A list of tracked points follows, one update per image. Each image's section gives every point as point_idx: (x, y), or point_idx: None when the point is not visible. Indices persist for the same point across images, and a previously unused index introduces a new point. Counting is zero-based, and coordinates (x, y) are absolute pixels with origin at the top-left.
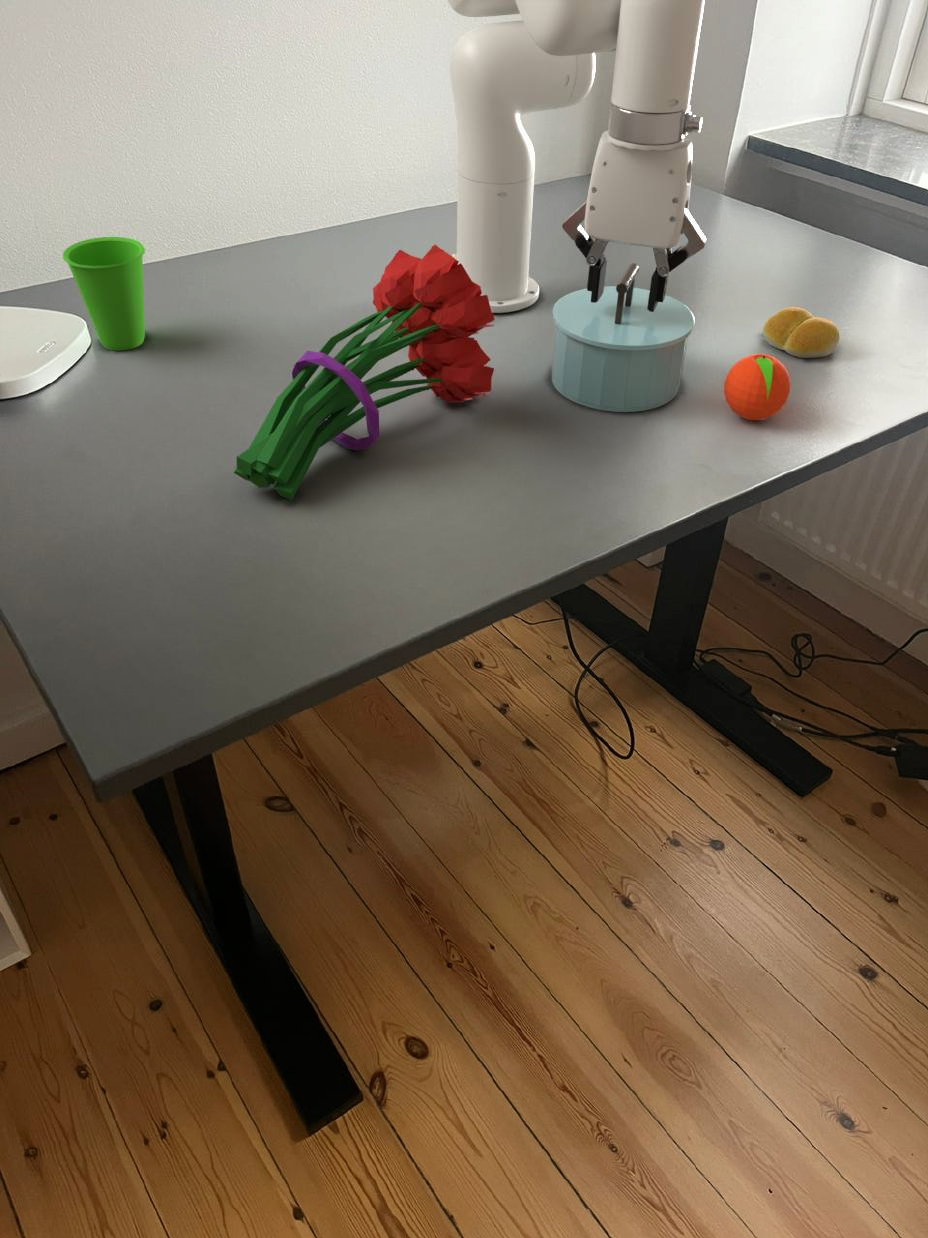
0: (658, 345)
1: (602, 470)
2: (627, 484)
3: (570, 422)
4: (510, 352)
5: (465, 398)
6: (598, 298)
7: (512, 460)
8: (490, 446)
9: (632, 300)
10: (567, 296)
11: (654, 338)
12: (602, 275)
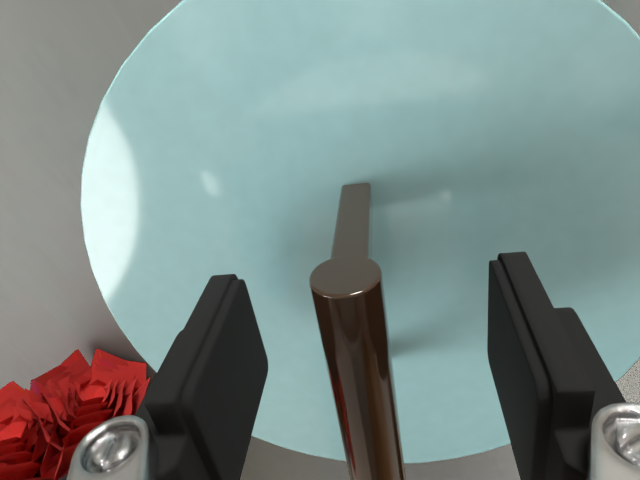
0: None
1: (459, 460)
2: (510, 477)
3: None
4: (52, 143)
5: (139, 384)
6: (263, 359)
7: (315, 476)
8: (264, 459)
9: (356, 134)
10: (95, 226)
11: None
12: (231, 406)
